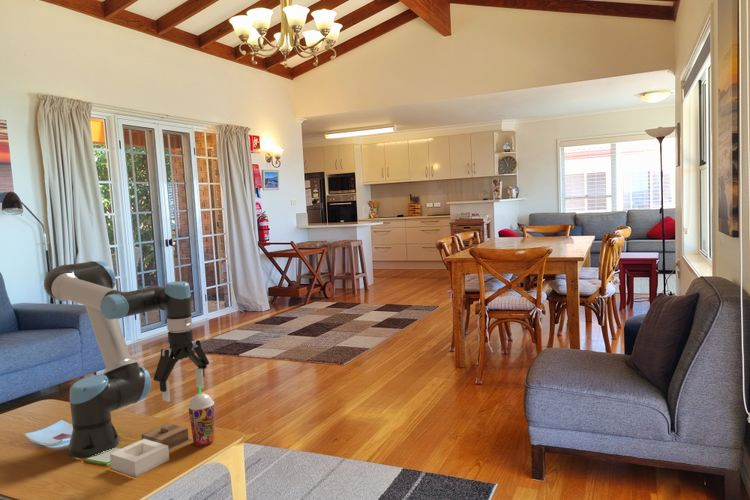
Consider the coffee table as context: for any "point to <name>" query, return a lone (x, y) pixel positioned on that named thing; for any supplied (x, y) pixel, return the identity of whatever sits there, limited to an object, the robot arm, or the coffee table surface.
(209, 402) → the smoothie
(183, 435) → the lid
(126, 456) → the dish
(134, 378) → the robot arm
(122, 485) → the coffee table surface
